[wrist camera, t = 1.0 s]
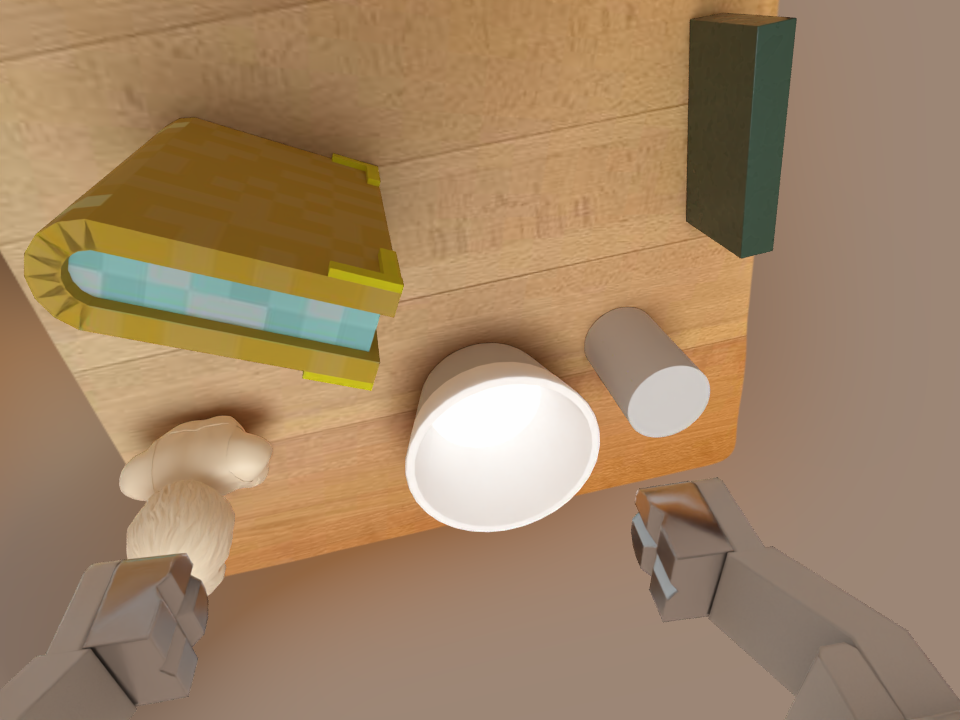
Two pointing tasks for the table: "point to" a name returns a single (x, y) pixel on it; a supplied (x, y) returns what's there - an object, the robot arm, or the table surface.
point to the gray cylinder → (646, 372)
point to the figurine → (193, 492)
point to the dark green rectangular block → (737, 126)
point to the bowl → (498, 440)
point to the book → (228, 253)
